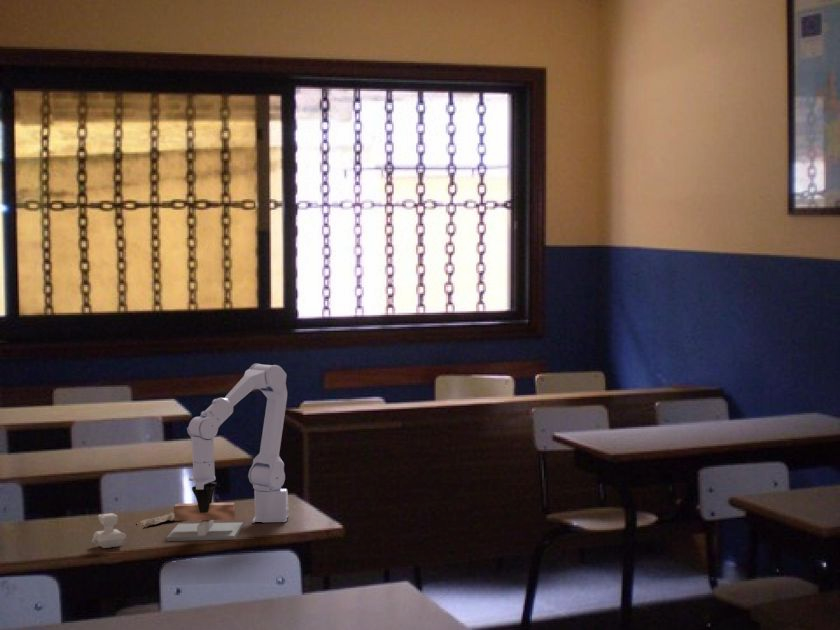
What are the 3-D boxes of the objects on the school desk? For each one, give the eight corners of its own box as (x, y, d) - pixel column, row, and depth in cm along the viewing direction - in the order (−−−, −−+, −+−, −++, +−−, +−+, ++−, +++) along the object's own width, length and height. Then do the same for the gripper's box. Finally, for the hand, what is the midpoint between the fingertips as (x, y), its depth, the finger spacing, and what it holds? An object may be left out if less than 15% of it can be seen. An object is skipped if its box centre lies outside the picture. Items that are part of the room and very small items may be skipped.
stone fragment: (213, 517, 372) (188, 513, 378) (213, 507, 372) (188, 503, 377) (149, 533, 351) (124, 529, 357) (149, 523, 351) (124, 519, 356)
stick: (235, 517, 348) (234, 502, 348) (233, 519, 345) (233, 504, 345) (176, 518, 348) (176, 503, 348) (174, 520, 345) (173, 506, 345)
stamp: (95, 551, 329) (94, 519, 328) (88, 546, 335) (87, 514, 334) (130, 546, 333) (128, 514, 333) (122, 541, 339) (121, 510, 338)
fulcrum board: (243, 525, 355) (242, 513, 354) (234, 539, 339) (234, 526, 338) (178, 527, 355) (178, 514, 354) (166, 540, 339) (166, 527, 339)
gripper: (193, 457, 353) (195, 505, 354) (183, 466, 338) (185, 517, 339) (219, 456, 353) (220, 505, 354) (210, 465, 338) (211, 516, 339)
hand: (205, 511), depth 346 cm, fingers closed on stick, 3 cm apart
